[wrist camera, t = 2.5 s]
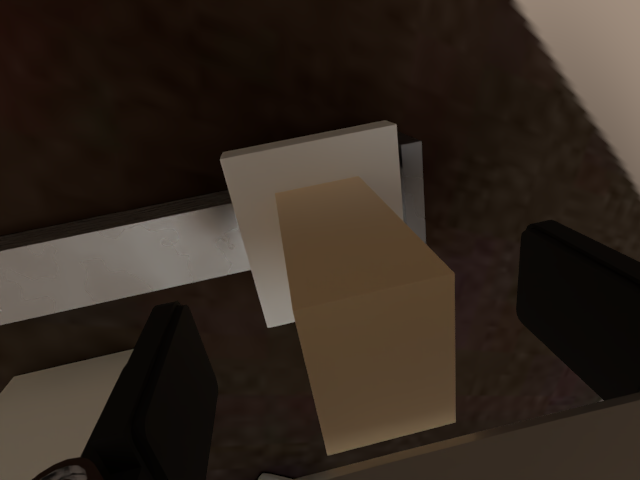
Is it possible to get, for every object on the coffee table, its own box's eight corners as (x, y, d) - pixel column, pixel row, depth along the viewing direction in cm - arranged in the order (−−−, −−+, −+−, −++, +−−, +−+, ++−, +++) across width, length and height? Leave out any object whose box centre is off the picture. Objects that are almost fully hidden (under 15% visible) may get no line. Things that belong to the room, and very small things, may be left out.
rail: (-99, 231, 15) (-160, 258, 13) (399, 132, 16) (421, 141, 14) (-28, 330, 17) (-69, 367, 15) (406, 234, 18) (426, 256, 16)
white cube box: (13, 376, 18) (-115, 538, 12) (151, 344, 19) (97, 483, 12) (77, 465, 21) (1, 632, 15) (194, 436, 22) (168, 585, 15)
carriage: (226, 142, 15) (179, 254, 6) (369, 114, 15) (539, 177, 6) (265, 285, 18) (275, 512, 9) (384, 259, 18) (513, 448, 9)
